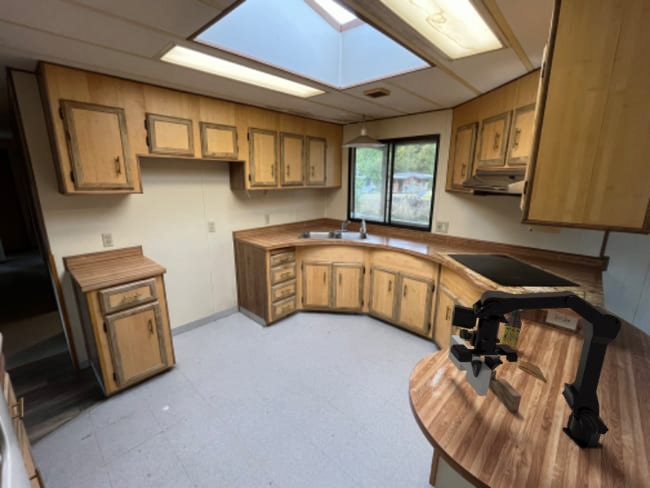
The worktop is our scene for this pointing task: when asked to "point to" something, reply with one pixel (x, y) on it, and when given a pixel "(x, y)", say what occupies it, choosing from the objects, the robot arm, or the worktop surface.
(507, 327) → the sauce bottle
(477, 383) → the slotted top plate
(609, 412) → the worktop surface
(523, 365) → the shard
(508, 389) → the slotted base plate
